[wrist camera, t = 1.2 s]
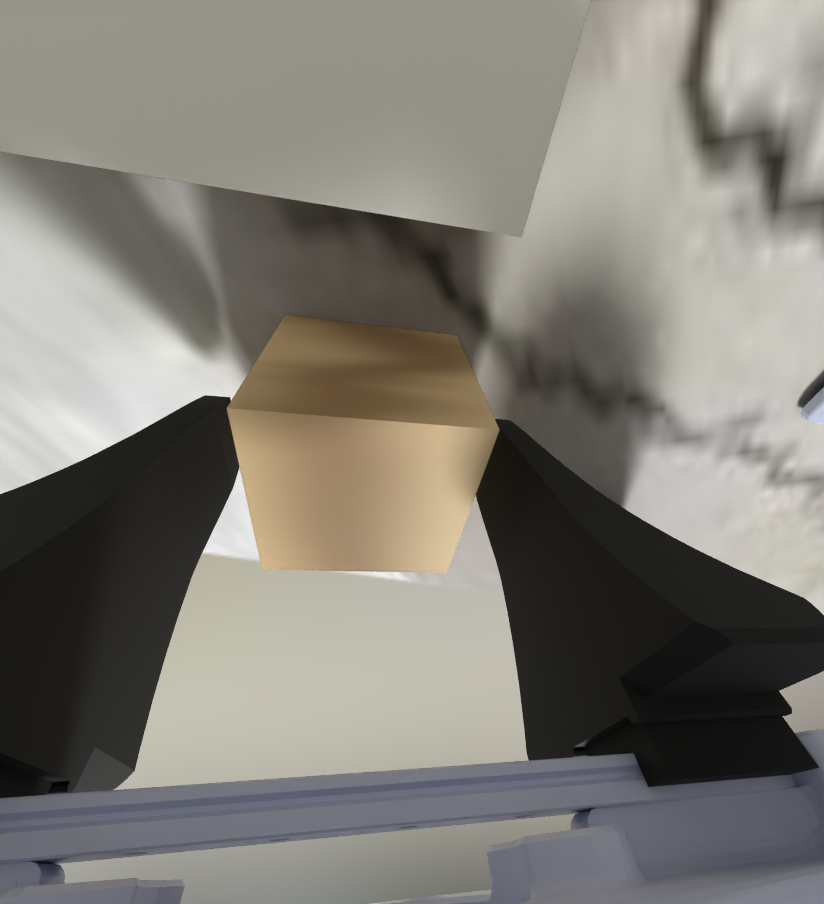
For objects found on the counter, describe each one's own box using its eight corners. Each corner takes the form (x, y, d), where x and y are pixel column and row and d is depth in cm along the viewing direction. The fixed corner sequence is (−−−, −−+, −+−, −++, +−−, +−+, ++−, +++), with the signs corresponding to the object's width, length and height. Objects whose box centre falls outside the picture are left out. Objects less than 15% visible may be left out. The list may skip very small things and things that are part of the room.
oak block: (456, 334, 11) (499, 429, 7) (428, 458, 14) (446, 572, 10) (286, 313, 10) (226, 408, 6) (297, 450, 13) (261, 569, 9)
